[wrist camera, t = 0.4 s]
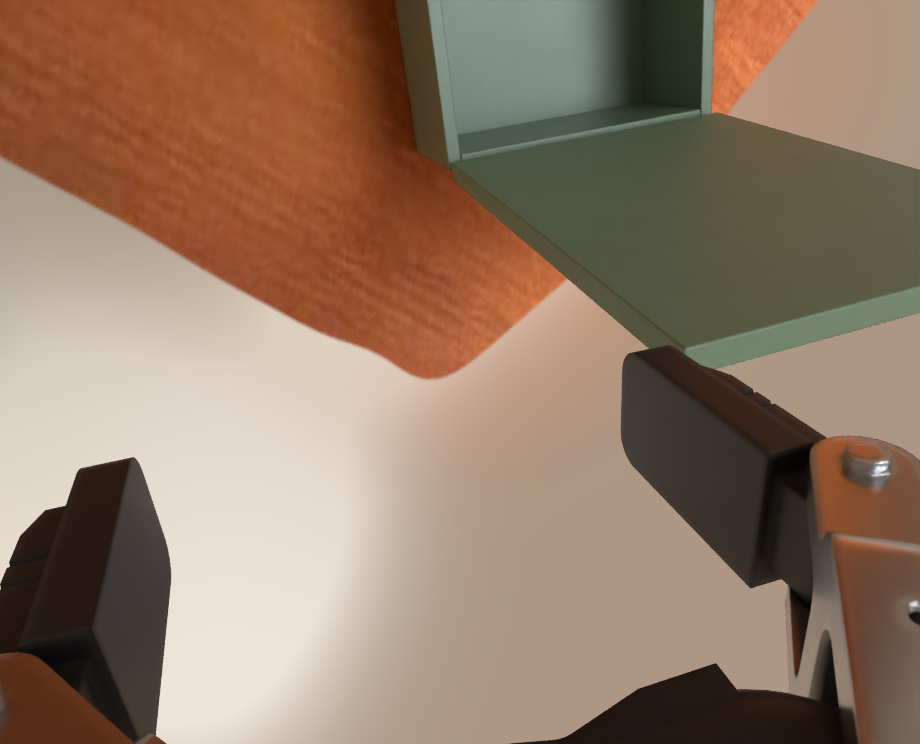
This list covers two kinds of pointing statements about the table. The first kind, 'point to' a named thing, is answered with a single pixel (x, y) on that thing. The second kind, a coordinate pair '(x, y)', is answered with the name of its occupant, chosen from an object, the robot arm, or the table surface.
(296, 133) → the table surface
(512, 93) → the chess box
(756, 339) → the box lid
